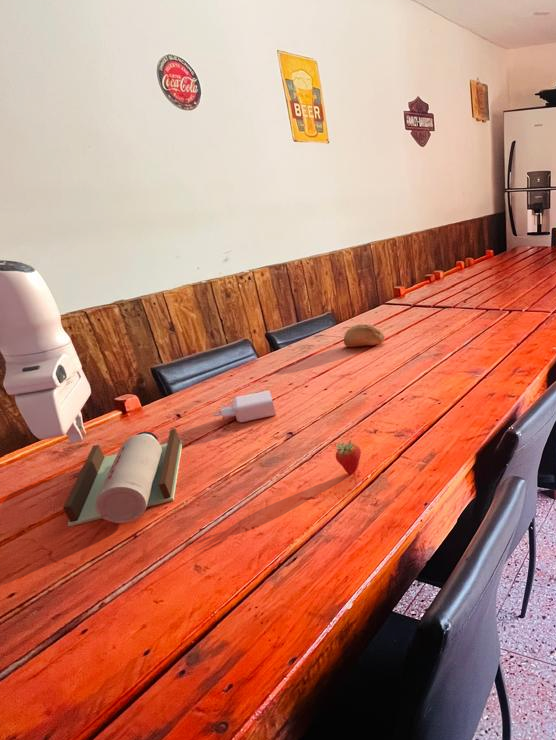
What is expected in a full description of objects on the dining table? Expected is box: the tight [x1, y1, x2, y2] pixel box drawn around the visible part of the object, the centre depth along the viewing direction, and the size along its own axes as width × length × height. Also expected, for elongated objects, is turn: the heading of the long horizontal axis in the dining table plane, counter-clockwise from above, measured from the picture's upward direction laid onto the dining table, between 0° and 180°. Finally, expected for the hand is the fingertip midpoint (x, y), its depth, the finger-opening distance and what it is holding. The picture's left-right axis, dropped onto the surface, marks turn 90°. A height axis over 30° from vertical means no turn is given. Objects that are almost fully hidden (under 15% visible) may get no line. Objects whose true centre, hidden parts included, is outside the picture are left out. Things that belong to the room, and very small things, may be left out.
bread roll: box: [343, 323, 385, 348], centre depth 189 cm, size 10×15×8 cm, turn 98°
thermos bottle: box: [95, 431, 162, 524], centre depth 107 cm, size 8×8×28 cm
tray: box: [62, 428, 183, 527], centre depth 111 cm, size 18×28×4 cm, turn 24°
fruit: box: [334, 439, 362, 475], centre depth 109 cm, size 5×5×8 cm
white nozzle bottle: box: [212, 390, 277, 423], centre depth 138 cm, size 5×9×15 cm
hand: (78, 439), depth 89 cm, fingers closed
